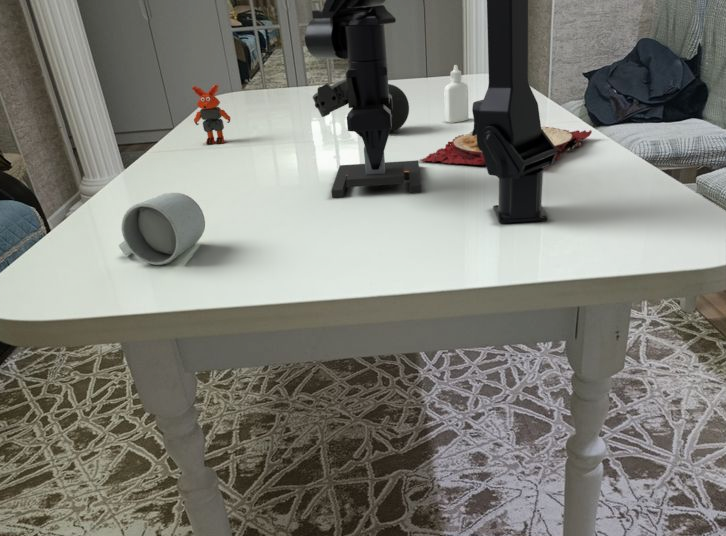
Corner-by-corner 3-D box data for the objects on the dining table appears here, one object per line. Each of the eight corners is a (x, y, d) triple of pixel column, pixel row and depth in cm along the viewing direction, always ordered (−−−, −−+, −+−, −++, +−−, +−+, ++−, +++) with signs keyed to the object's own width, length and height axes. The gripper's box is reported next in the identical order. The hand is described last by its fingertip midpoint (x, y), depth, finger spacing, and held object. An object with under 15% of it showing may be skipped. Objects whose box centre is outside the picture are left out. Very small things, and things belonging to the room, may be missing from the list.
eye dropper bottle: (443, 120, 150) (442, 64, 144) (467, 118, 150) (466, 63, 144) (445, 123, 147) (444, 67, 141) (470, 121, 147) (469, 65, 141)
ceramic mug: (214, 242, 85) (201, 184, 81) (185, 265, 78) (169, 204, 74) (143, 242, 87) (127, 186, 83) (108, 265, 80) (89, 205, 76)
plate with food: (592, 141, 123) (593, 122, 122) (543, 170, 104) (544, 148, 103) (480, 136, 135) (480, 119, 133) (419, 161, 116) (418, 141, 115)
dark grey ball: (406, 136, 137) (404, 86, 132) (361, 137, 139) (357, 88, 134) (413, 126, 145) (410, 79, 140) (370, 128, 147) (366, 81, 142)
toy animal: (194, 147, 141) (182, 89, 135) (200, 142, 145) (188, 85, 140) (230, 144, 141) (219, 86, 135) (235, 139, 145) (224, 83, 140)
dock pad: (421, 192, 99) (420, 184, 99) (332, 197, 100) (331, 189, 99) (418, 167, 113) (418, 159, 112) (340, 172, 114) (339, 164, 113)
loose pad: (404, 183, 99) (402, 149, 96) (346, 187, 99) (343, 153, 96) (404, 171, 105) (402, 139, 103) (350, 175, 106) (346, 143, 103)
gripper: (319, 57, 102) (331, 156, 110) (304, 70, 86) (319, 185, 93) (389, 52, 101) (395, 152, 109) (386, 65, 85) (394, 181, 93)
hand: (375, 166), depth 101 cm, fingers closed on loose pad, 3 cm apart
